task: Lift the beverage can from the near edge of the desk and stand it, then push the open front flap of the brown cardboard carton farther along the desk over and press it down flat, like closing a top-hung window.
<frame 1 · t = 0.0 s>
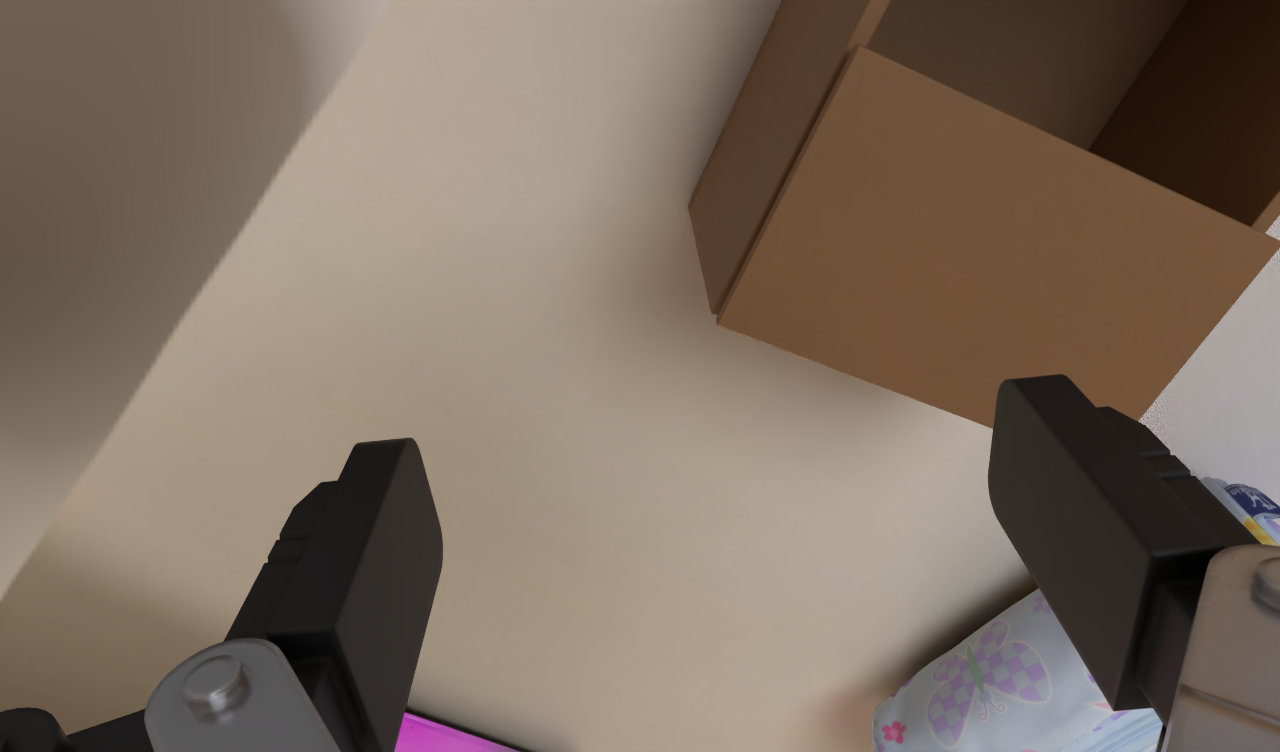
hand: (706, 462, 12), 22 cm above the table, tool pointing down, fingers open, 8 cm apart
carton: (948, 71, 31), on the table
pencil case: (1051, 606, 44), on the table
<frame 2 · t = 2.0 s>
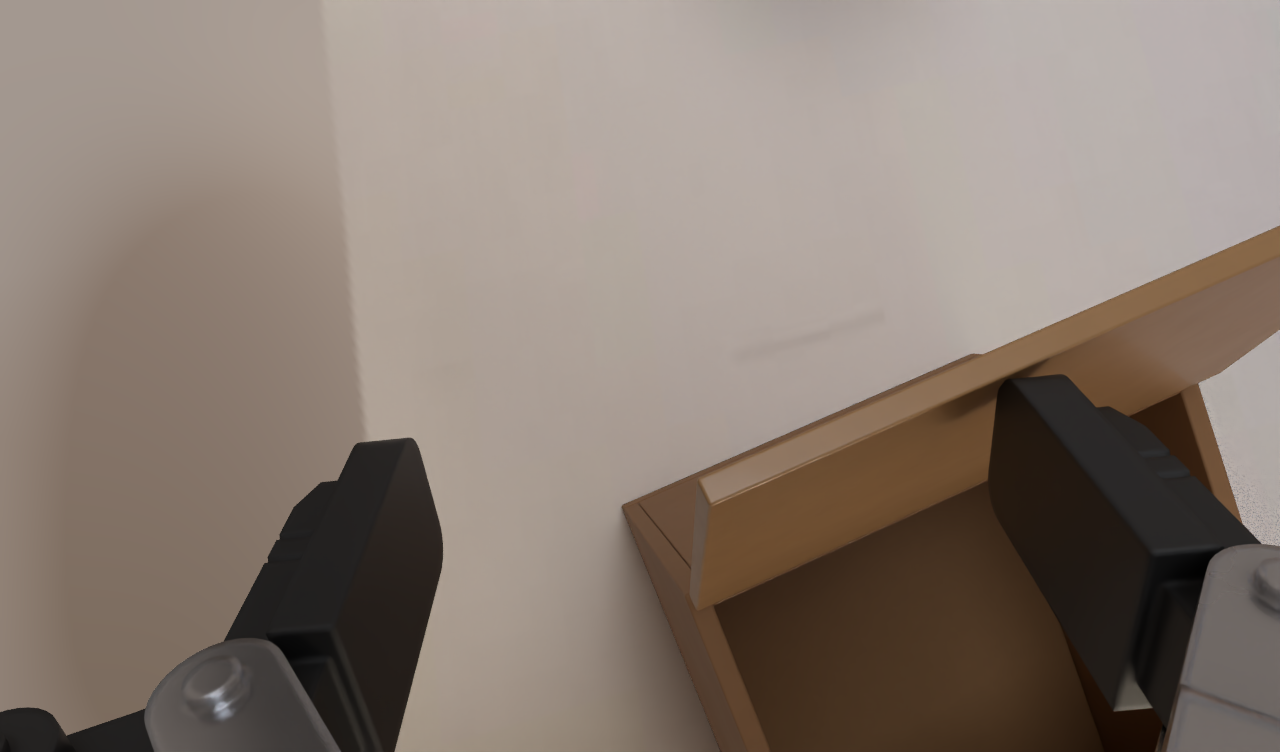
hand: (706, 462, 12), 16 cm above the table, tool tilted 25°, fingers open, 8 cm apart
carton: (882, 642, 30), on the table
flap: (1033, 410, 15), point 14 cm above the table, hinge at 119.9°, touching gripper
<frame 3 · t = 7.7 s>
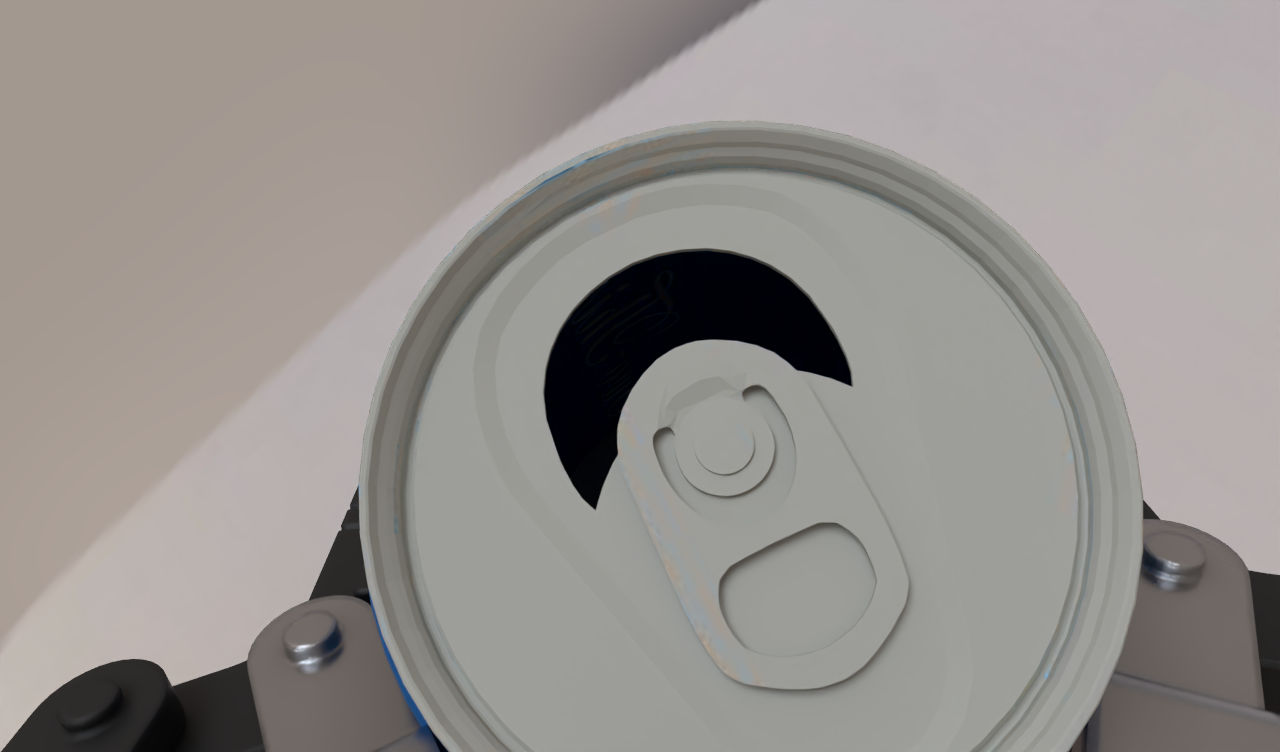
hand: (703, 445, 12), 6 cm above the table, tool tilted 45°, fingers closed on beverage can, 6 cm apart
beverage can: (708, 564, 18), on the table, touching gripper
when the fingers open (6 cm above the table, at t = 16.0 s): beverage can stays where it is, on the table.
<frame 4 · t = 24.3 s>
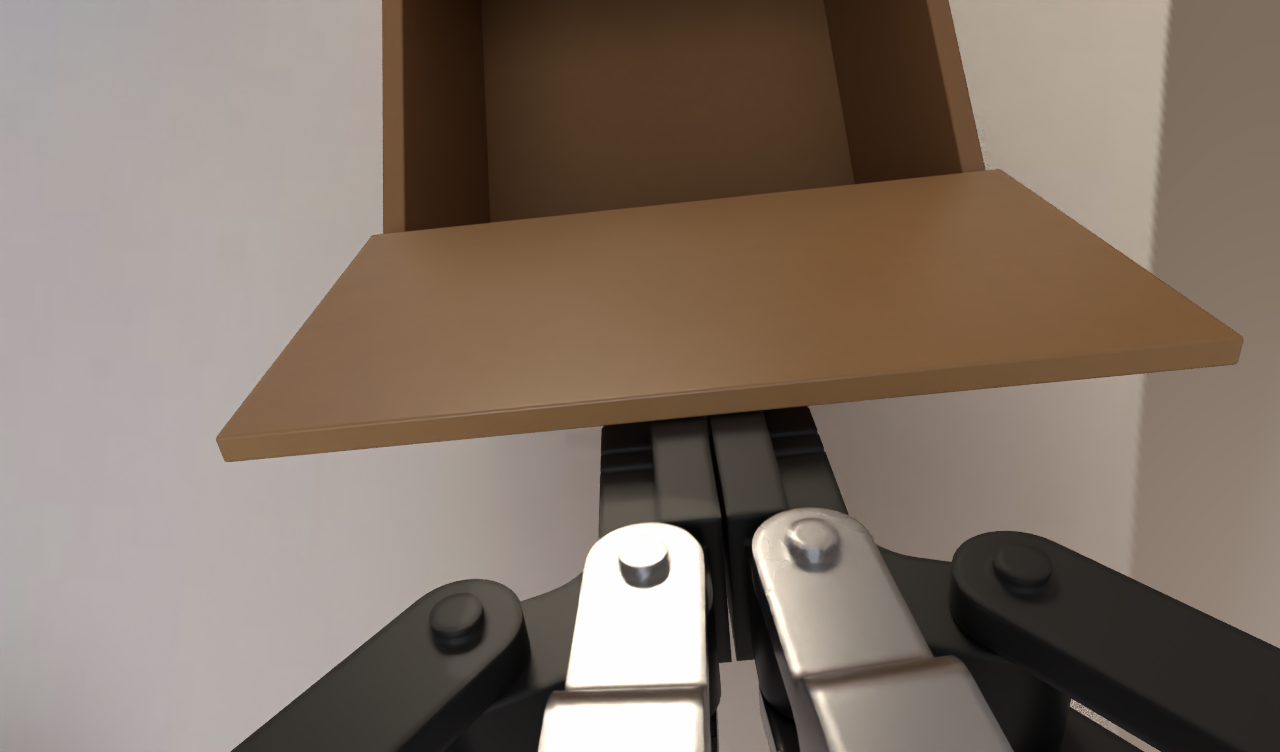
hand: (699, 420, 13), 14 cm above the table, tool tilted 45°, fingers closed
carton: (663, 132, 30), on the table
flap: (697, 283, 14), point 13 cm above the table, hinge at 134.2°, touching gripper
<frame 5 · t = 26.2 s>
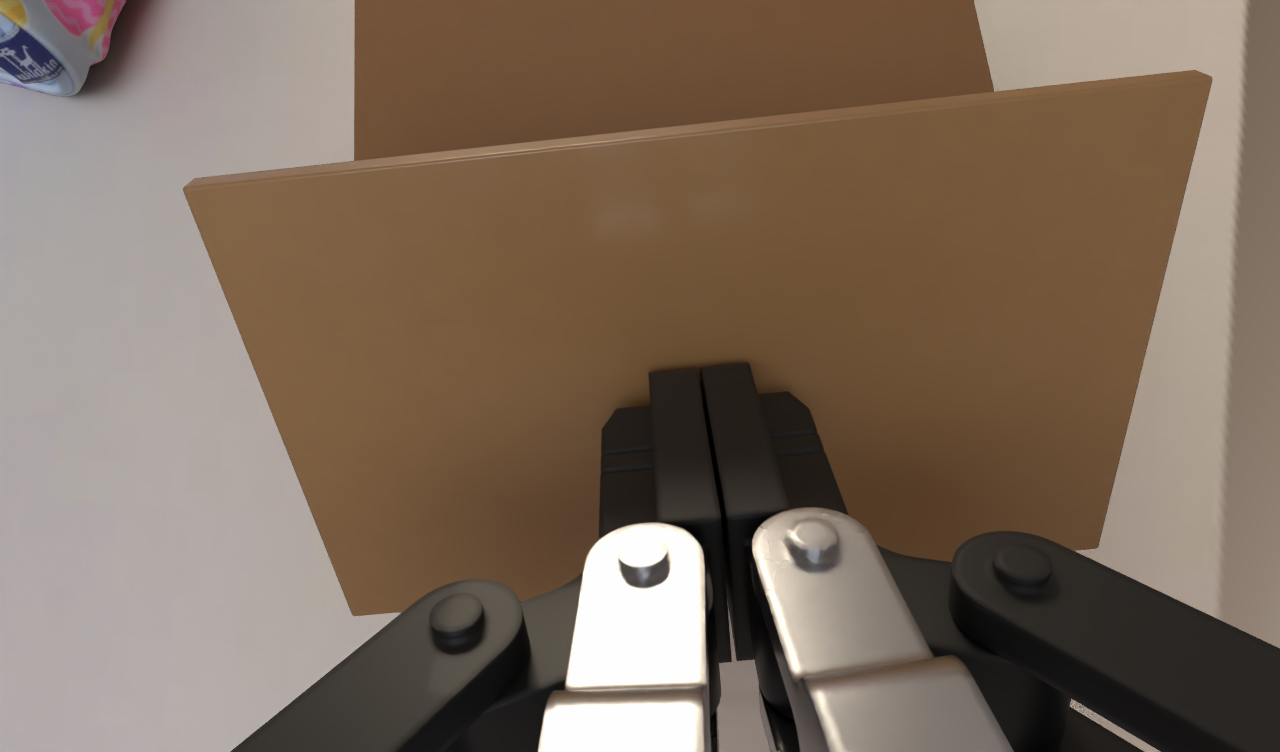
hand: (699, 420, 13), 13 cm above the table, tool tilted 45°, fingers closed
carton: (680, 330, 27), on the table
flap: (705, 387, 13), point 13 cm above the table, hinge at 47.8°, touching gripper
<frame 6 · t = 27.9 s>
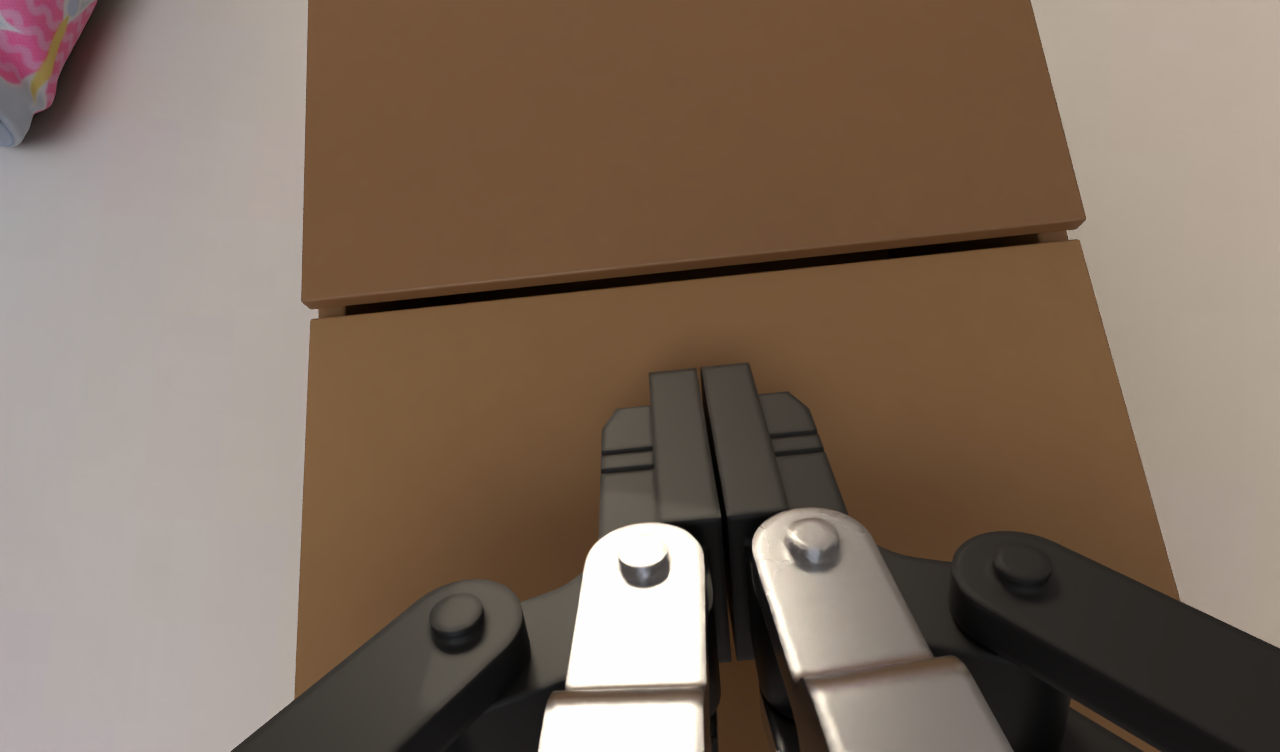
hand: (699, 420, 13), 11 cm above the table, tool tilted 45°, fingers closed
carton: (690, 413, 24), on the table
flap: (715, 514, 13), point 10 cm above the table, hinge at -2.7°, touching gripper
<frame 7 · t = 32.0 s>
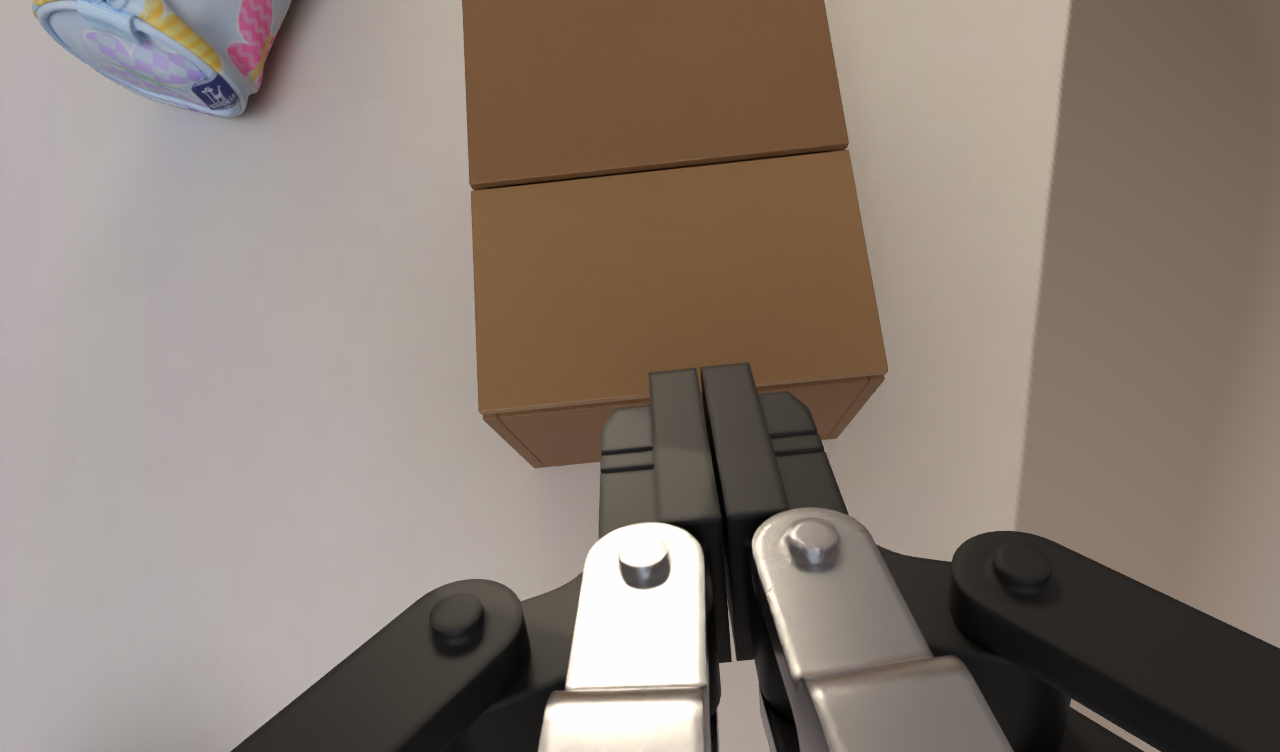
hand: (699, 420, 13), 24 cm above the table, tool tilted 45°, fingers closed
carton: (666, 279, 39), on the table
flap: (669, 278, 29), point 10 cm above the table, hinge at -1.1°
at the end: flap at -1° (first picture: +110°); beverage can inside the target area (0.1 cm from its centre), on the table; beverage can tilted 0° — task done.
